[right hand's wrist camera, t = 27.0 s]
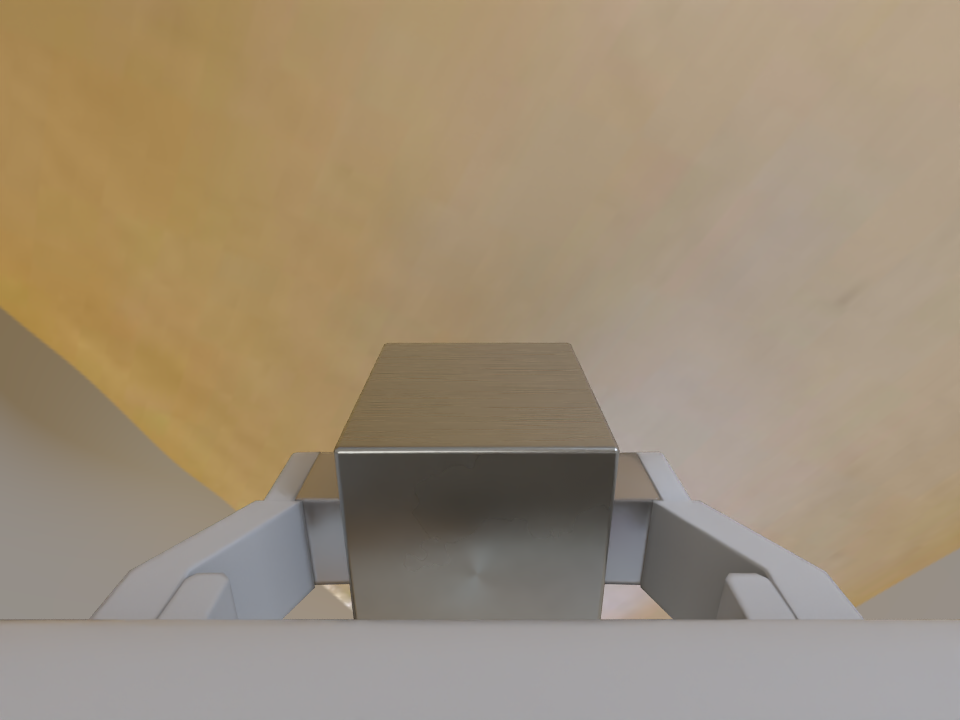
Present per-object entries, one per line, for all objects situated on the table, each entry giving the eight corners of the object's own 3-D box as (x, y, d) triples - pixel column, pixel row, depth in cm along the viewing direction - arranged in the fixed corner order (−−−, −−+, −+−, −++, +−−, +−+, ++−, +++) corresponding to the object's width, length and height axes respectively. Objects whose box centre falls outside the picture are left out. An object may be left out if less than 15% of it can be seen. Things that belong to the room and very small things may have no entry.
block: (396, 512, 13) (358, 676, 9) (383, 341, 12) (331, 449, 7) (559, 512, 13) (596, 676, 9) (571, 341, 12) (622, 448, 8)
